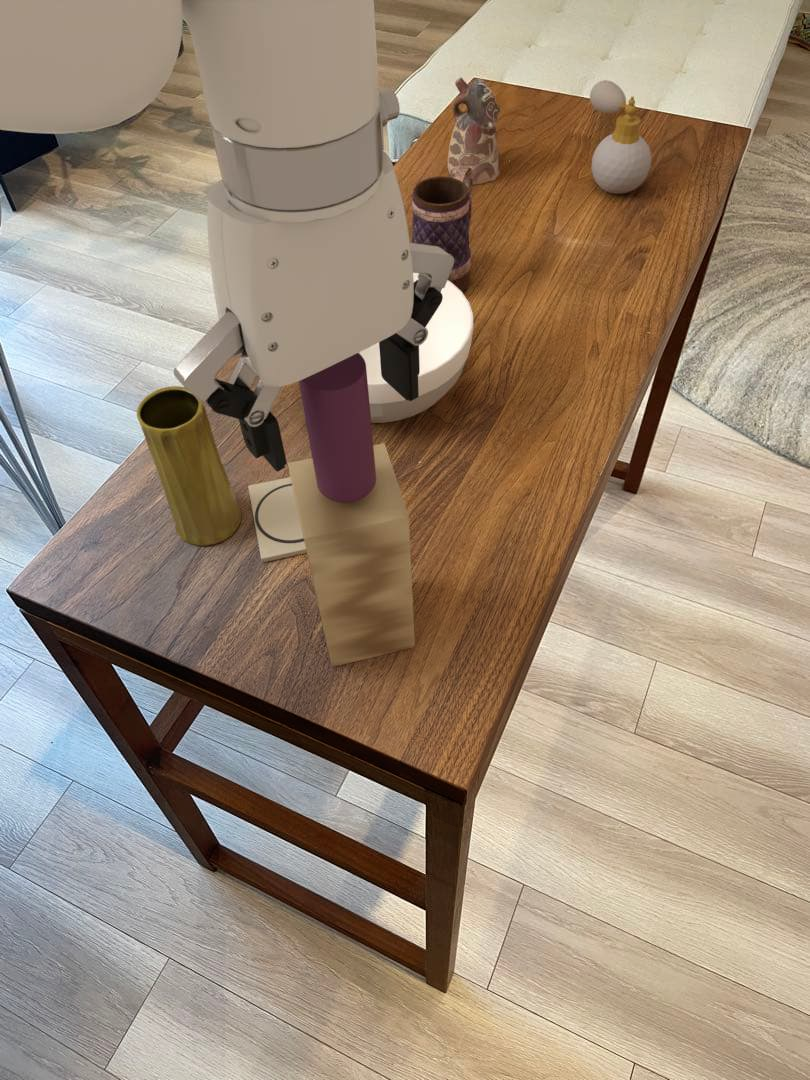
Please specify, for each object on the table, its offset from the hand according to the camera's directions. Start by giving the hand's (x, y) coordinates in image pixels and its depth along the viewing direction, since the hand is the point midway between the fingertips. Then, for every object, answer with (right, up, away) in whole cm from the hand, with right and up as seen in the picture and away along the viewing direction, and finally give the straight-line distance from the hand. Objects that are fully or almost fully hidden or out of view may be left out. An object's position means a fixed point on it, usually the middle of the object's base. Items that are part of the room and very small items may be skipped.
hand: (336, 421), depth 51 cm
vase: (-14, -6, +26) cm, 30 cm away
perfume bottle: (+31, +40, +59) cm, 78 cm away
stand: (+1, -14, +18) cm, 23 cm away
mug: (+9, +24, +48) cm, 55 cm away
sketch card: (-4, -5, +26) cm, 27 cm away
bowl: (+2, +9, +36) cm, 37 cm away
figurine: (+14, +43, +63) cm, 77 cm away
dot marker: (0, -4, +5) cm, 6 cm away
